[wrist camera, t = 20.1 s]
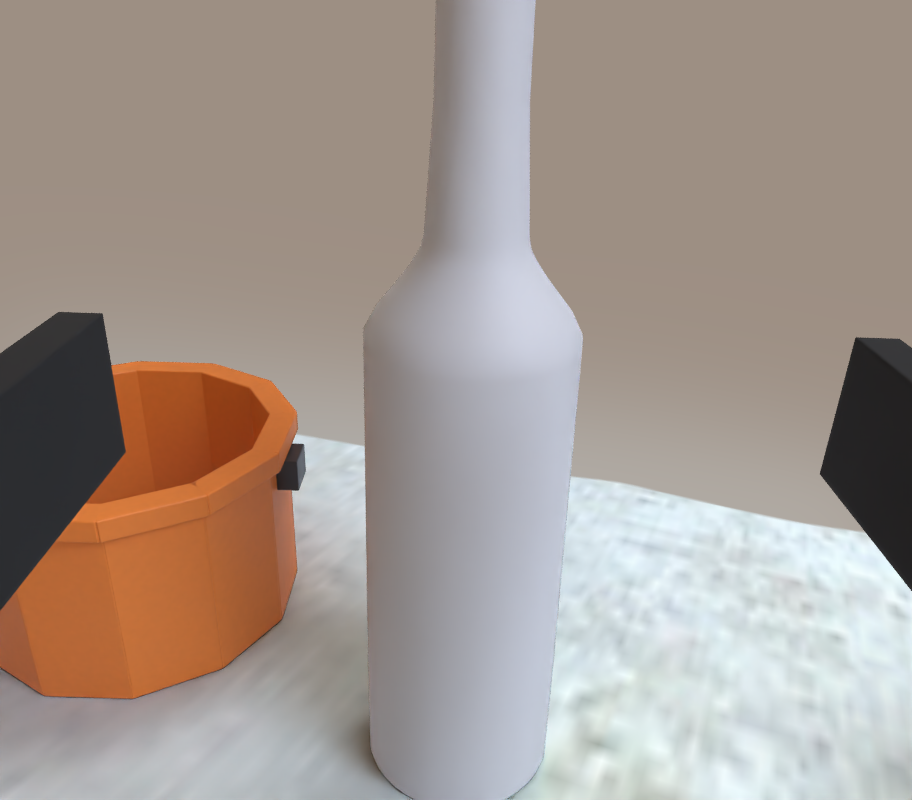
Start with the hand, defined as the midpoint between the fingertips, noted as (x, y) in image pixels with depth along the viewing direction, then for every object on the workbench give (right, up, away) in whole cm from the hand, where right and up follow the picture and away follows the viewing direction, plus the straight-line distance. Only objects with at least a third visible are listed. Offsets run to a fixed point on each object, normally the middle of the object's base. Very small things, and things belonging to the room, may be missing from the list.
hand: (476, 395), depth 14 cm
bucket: (-15, -9, +22) cm, 28 cm away
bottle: (0, -13, +16) cm, 20 cm away
